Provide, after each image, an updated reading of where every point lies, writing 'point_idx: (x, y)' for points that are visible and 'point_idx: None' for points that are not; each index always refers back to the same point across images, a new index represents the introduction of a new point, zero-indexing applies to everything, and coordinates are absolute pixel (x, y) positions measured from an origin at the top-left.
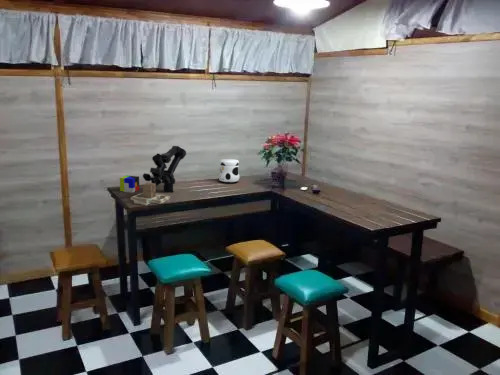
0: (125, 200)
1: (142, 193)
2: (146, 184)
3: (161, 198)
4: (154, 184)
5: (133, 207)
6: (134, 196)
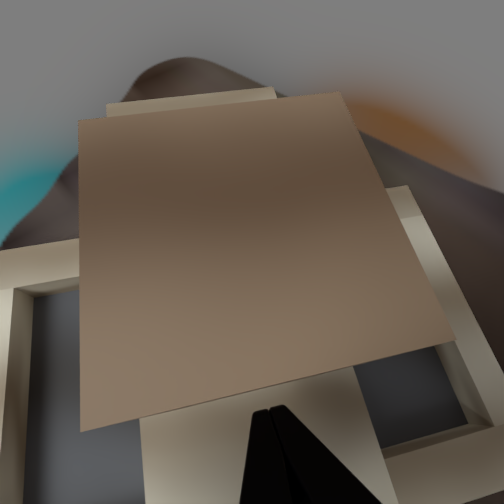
0: (412, 171)
1: (494, 436)
2: (268, 133)
3: (117, 499)
4: (87, 335)
5: (178, 64)
6: (405, 229)
